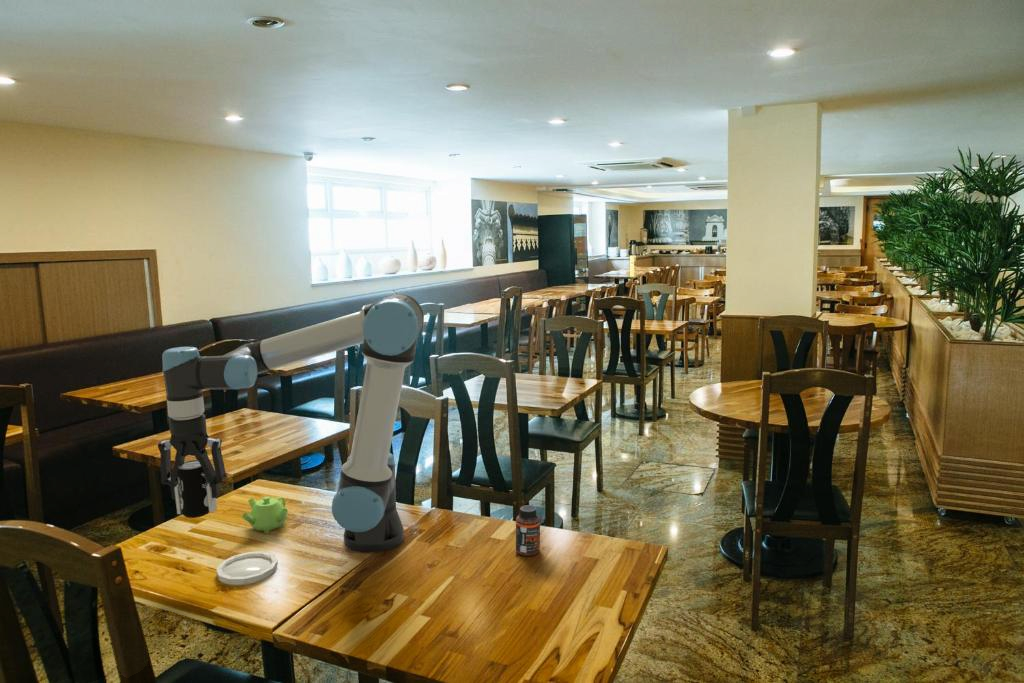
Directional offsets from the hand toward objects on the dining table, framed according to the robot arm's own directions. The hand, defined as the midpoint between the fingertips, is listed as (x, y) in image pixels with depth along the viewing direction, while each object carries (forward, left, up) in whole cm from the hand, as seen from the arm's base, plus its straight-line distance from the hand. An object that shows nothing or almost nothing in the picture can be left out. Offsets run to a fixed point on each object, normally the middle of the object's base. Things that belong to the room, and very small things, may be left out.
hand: (197, 511), depth 161 cm
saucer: (-11, +2, -14) cm, 18 cm away
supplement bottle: (-77, -5, -15) cm, 79 cm away
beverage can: (0, 0, -1) cm, 1 cm away
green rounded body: (-8, -21, -15) cm, 27 cm away
